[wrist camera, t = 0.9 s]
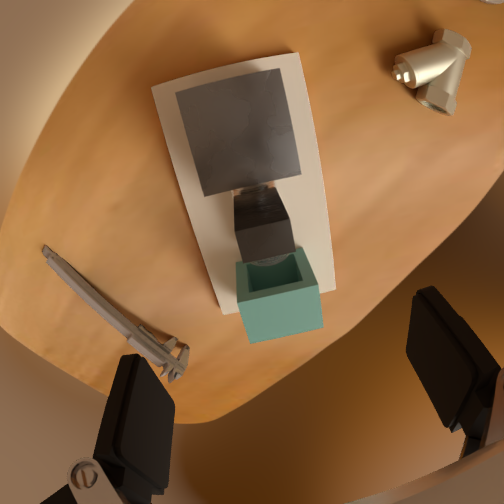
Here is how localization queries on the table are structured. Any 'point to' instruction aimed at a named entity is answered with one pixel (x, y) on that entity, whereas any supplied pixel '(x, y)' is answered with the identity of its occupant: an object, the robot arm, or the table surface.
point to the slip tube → (262, 225)
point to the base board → (221, 205)
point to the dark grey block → (240, 131)
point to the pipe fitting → (435, 70)
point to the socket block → (278, 298)
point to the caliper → (122, 321)
